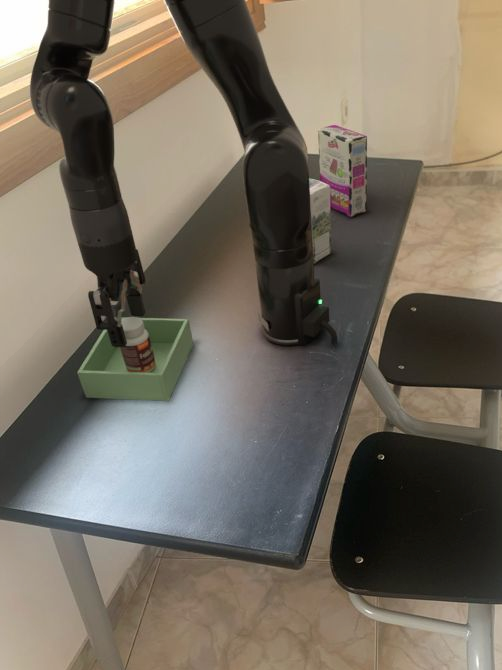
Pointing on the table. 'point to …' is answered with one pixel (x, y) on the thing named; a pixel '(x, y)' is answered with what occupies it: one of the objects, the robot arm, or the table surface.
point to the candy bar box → (344, 168)
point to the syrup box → (320, 219)
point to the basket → (117, 383)
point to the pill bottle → (137, 346)
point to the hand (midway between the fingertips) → (129, 329)
